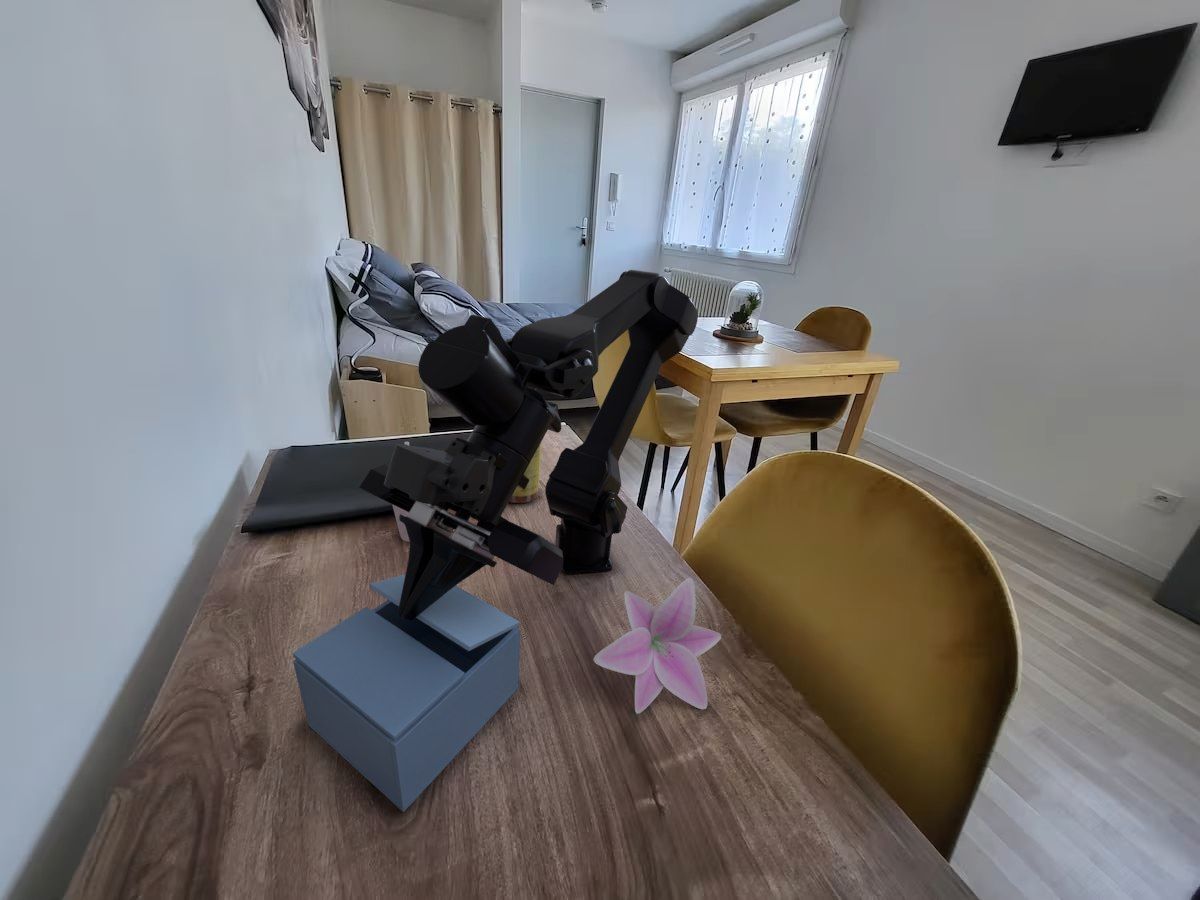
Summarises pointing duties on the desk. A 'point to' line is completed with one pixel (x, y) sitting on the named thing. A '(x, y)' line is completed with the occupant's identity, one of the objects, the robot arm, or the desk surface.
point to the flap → (455, 614)
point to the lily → (662, 648)
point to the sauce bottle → (532, 475)
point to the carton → (401, 695)
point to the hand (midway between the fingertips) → (404, 618)
